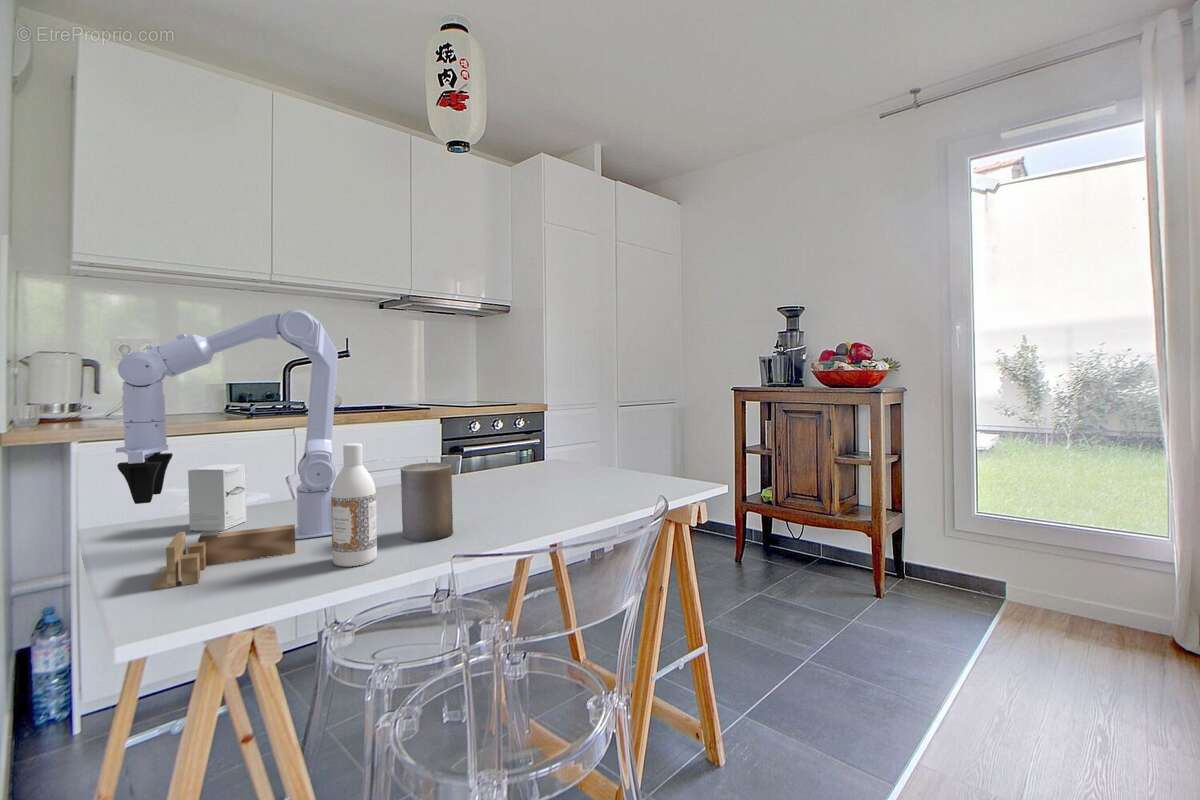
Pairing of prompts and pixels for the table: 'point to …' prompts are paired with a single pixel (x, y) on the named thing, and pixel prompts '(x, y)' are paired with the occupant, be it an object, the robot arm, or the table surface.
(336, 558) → the bath foam
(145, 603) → the table surface
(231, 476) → the supplement box
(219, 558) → the brown wooden block
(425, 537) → the pillar candle
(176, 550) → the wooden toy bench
